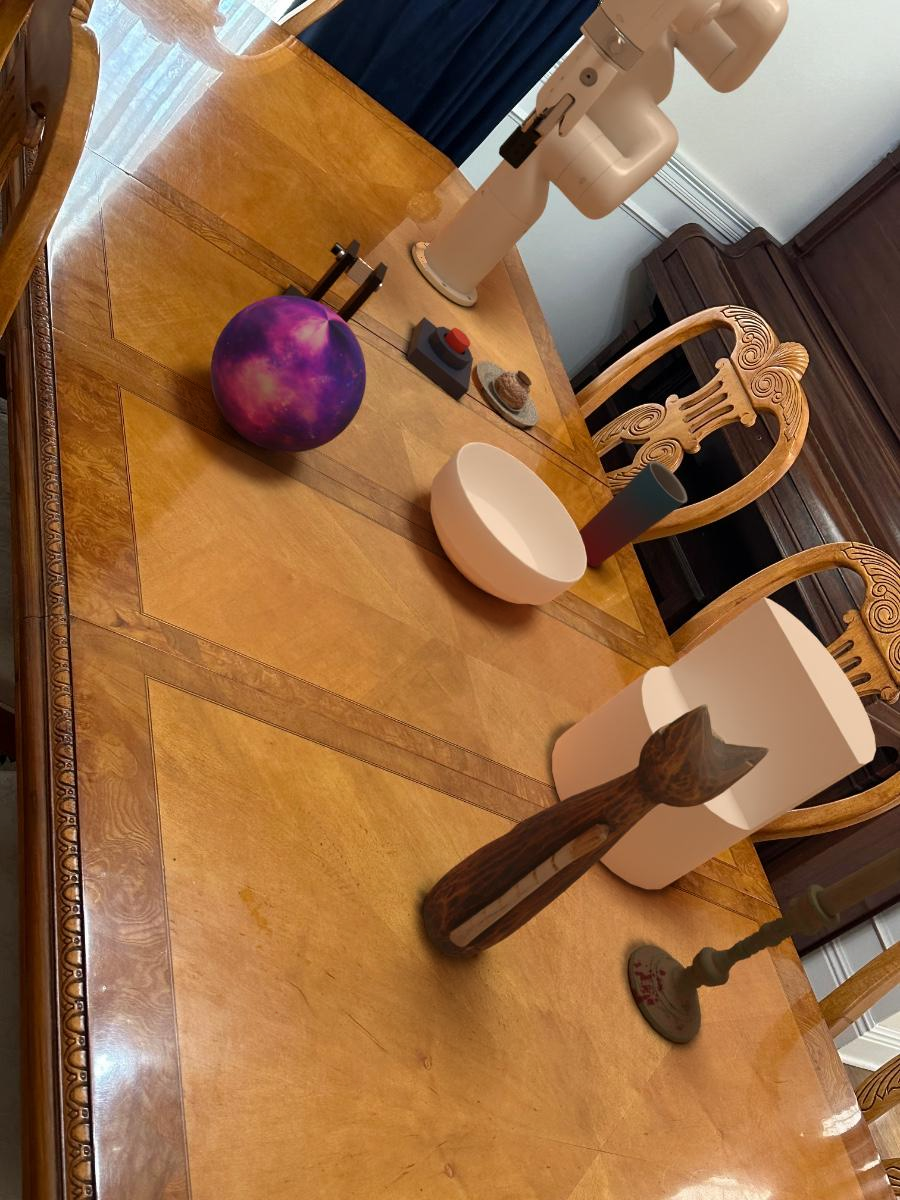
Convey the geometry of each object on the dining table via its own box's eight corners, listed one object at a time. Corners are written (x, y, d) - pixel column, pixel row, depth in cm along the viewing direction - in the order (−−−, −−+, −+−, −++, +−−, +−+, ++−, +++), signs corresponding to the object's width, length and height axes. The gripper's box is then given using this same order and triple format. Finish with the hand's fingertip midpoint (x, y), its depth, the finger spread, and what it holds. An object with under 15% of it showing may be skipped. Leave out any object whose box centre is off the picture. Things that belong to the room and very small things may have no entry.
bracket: (285, 290, 141) (344, 218, 135) (343, 337, 144) (403, 269, 138) (268, 324, 133) (330, 249, 127) (330, 373, 136) (393, 302, 130)
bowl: (553, 586, 142) (603, 544, 138) (508, 653, 125) (562, 608, 121) (443, 468, 141) (489, 423, 137) (381, 520, 124) (432, 470, 120)
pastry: (462, 378, 162) (484, 355, 159) (485, 358, 172) (506, 336, 170) (522, 440, 163) (544, 418, 160) (541, 416, 173) (563, 395, 171)
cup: (602, 552, 158) (685, 483, 151) (603, 581, 153) (689, 511, 145) (566, 523, 156) (648, 451, 149) (566, 551, 151) (651, 479, 143)
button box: (414, 327, 161) (432, 307, 159) (463, 368, 164) (482, 349, 162) (406, 358, 153) (425, 337, 151) (457, 401, 156) (477, 381, 154)
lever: (327, 253, 143) (339, 238, 142) (365, 285, 145) (377, 270, 144) (332, 263, 132) (345, 246, 131) (373, 297, 134) (386, 281, 133)
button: (445, 333, 157) (453, 323, 157) (462, 347, 159) (471, 339, 158) (443, 342, 155) (451, 333, 154) (461, 358, 156) (469, 349, 155)
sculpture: (500, 930, 97) (784, 745, 82) (452, 985, 90) (756, 792, 75) (450, 864, 98) (723, 669, 83) (398, 913, 90) (688, 708, 76)
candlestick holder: (620, 934, 108) (890, 772, 93) (685, 963, 113) (953, 813, 98) (637, 1028, 102) (930, 870, 87) (705, 1055, 106) (995, 909, 91)
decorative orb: (156, 360, 114) (242, 248, 106) (265, 376, 126) (349, 277, 118) (223, 480, 109) (318, 372, 102) (329, 485, 121) (421, 389, 114)
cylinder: (640, 744, 133) (816, 620, 121) (702, 896, 122) (903, 777, 110) (530, 715, 121) (714, 574, 108) (588, 881, 110) (800, 746, 98)
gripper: (636, 79, 134) (527, 198, 143) (630, 50, 146) (530, 162, 155) (589, 31, 131) (481, 156, 140) (587, 6, 143) (488, 123, 152)
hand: (507, 159), depth 147 cm, fingers closed
